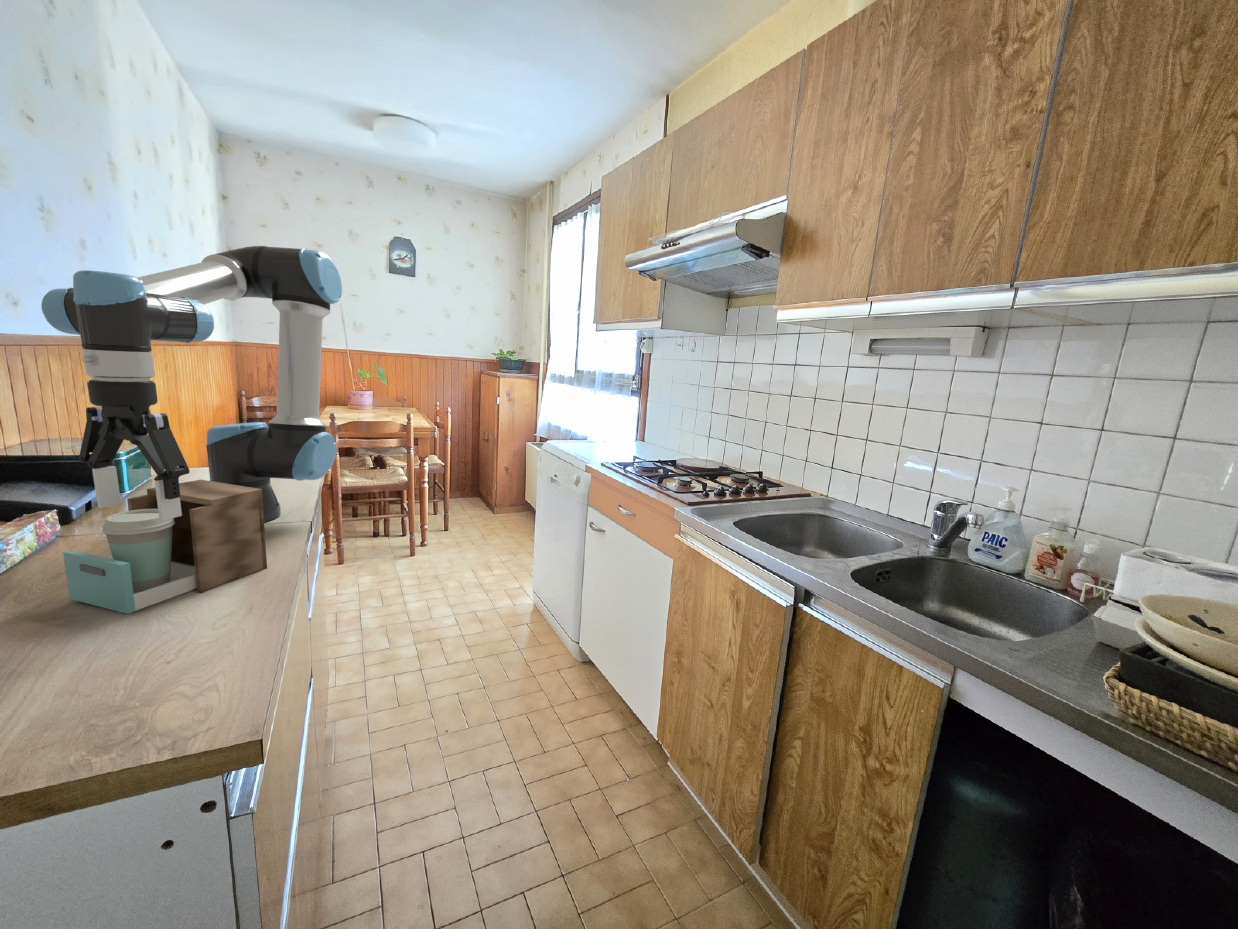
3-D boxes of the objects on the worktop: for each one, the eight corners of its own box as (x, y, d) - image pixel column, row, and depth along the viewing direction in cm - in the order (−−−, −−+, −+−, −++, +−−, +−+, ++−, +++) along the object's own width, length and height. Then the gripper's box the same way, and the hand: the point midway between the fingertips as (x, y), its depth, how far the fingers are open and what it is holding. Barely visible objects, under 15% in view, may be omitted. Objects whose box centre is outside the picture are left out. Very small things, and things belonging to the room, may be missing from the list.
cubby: (207, 555, 100) (200, 479, 97) (267, 568, 96) (261, 489, 93) (136, 578, 88) (126, 492, 85) (200, 593, 84) (192, 504, 82)
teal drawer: (158, 570, 90) (153, 529, 89) (211, 582, 87) (207, 540, 86) (67, 599, 79) (61, 552, 77) (125, 614, 75) (119, 565, 74)
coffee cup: (194, 578, 86) (187, 511, 84) (138, 599, 78) (129, 525, 76) (153, 571, 88) (146, 505, 86) (95, 591, 80) (85, 519, 77)
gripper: (33, 373, 76) (56, 507, 81) (153, 386, 70) (171, 530, 75) (95, 373, 84) (113, 496, 88) (209, 384, 77) (222, 516, 82)
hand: (139, 512), depth 81 cm, fingers open, 13 cm apart
